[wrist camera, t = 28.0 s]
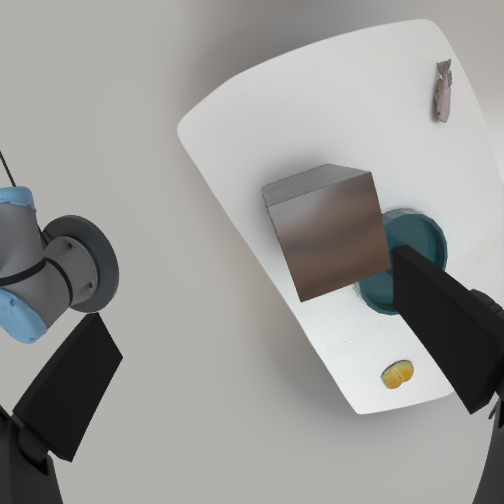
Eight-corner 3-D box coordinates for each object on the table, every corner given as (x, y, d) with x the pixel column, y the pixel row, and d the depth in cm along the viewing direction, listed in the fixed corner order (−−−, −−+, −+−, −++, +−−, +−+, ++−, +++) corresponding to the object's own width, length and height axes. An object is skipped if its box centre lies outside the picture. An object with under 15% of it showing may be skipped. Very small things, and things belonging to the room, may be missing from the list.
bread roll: (413, 369, 61) (419, 379, 57) (386, 386, 62) (390, 396, 59) (407, 353, 58) (413, 363, 55) (377, 372, 60) (382, 382, 56)
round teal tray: (340, 229, 48) (347, 235, 44) (430, 196, 45) (442, 200, 41) (361, 318, 54) (367, 329, 50) (439, 283, 52) (448, 291, 48)
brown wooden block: (261, 186, 45) (266, 207, 28) (328, 163, 44) (371, 171, 27) (284, 250, 49) (300, 302, 32) (347, 228, 48) (391, 268, 31)
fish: (442, 66, 35) (455, 61, 31) (439, 125, 40) (454, 124, 35) (432, 60, 35) (445, 55, 30) (429, 120, 40) (444, 119, 35)
